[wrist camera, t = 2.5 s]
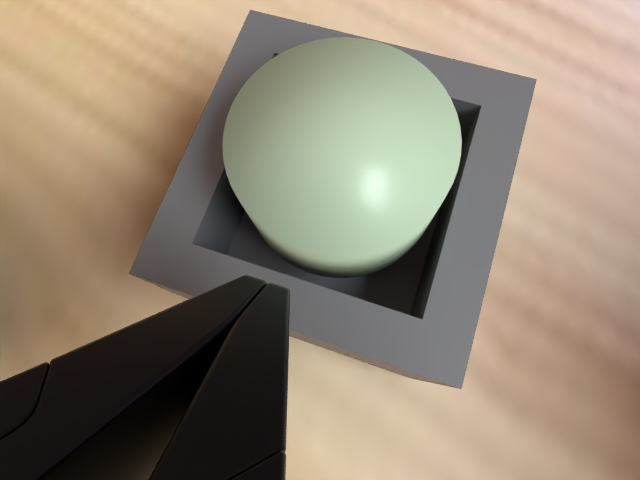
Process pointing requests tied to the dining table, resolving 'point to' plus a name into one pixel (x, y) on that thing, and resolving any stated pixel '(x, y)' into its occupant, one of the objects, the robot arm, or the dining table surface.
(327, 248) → the green button
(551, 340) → the dining table surface
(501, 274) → the dining table surface
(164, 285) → the grey button housing
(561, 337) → the dining table surface
